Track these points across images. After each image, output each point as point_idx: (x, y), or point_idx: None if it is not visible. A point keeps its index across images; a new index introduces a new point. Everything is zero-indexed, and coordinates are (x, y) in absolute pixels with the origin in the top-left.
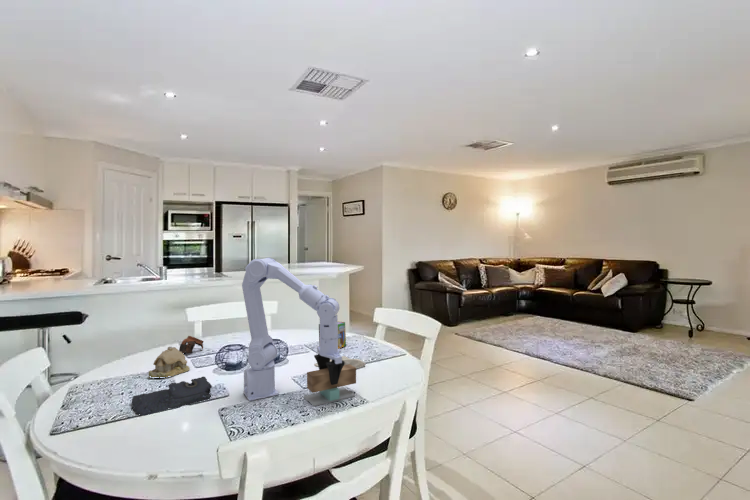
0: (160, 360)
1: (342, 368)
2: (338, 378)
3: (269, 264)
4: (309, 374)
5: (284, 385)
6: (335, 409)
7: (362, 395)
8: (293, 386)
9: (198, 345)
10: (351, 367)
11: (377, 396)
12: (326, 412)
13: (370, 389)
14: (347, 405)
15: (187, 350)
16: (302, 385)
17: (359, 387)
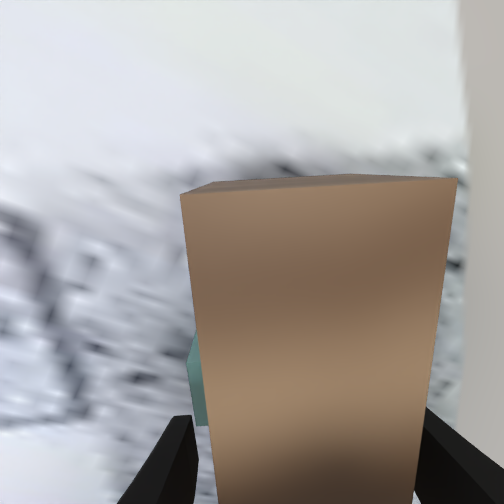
0: None
1: (341, 389)
2: (461, 439)
3: None
4: None
5: (7, 484)
6: (443, 361)
7: (368, 141)
8: (37, 453)
9: None
10: (380, 245)
11: (452, 38)
12: (444, 406)
13: (300, 19)
14: (442, 292)
15: None
16: (36, 413)
17: (217, 90)
